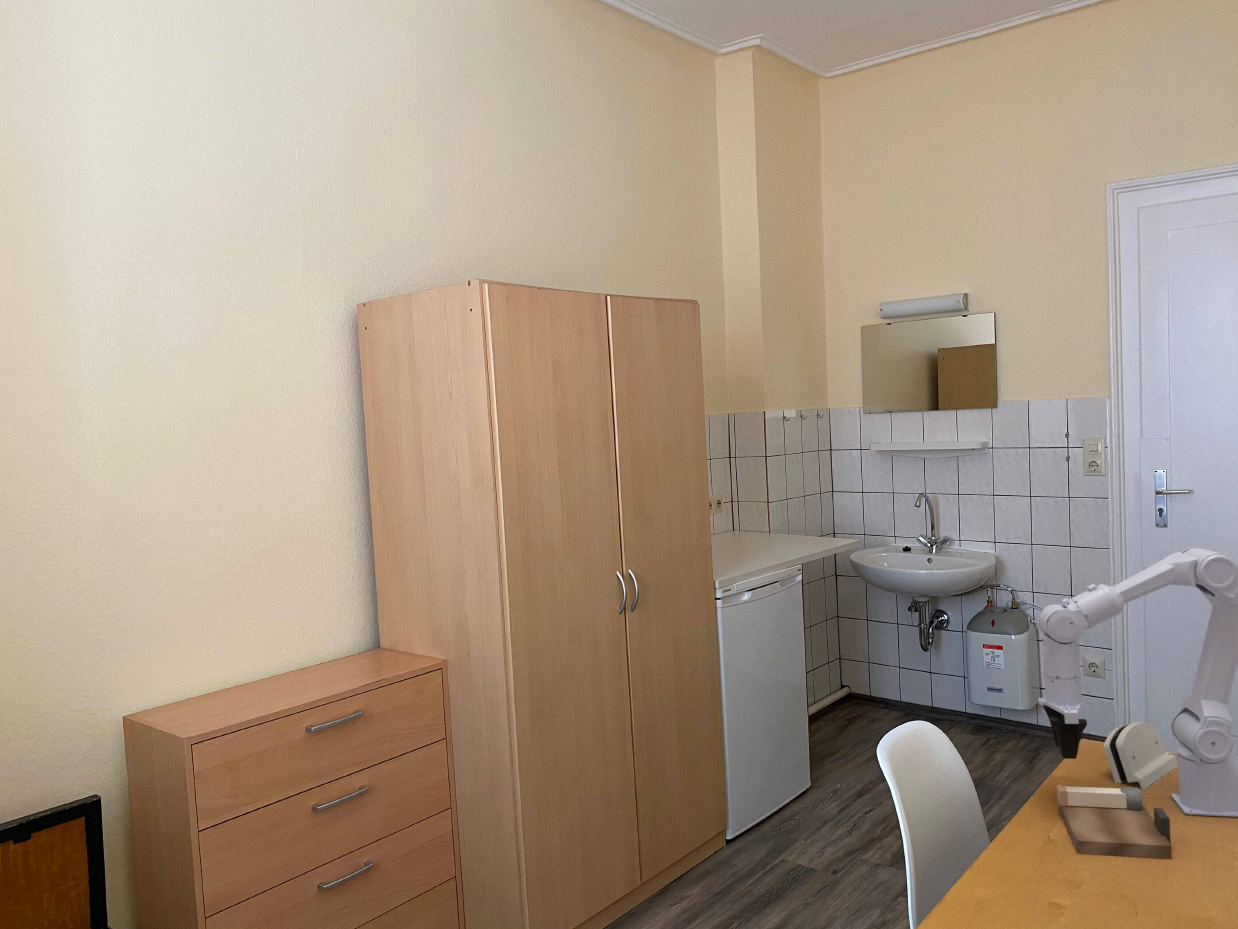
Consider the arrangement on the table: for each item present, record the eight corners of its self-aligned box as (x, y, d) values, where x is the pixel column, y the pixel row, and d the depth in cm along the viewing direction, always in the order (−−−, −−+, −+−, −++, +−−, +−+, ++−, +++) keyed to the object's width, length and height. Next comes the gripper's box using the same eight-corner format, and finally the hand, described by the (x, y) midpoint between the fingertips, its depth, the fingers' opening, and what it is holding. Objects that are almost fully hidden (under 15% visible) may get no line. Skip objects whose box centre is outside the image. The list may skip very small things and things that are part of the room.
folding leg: (1140, 803, 156) (1139, 787, 156) (1145, 810, 153) (1144, 794, 153) (1057, 799, 159) (1056, 784, 159) (1060, 806, 156) (1059, 791, 156)
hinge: (1143, 790, 166) (1121, 734, 168) (1118, 792, 170) (1096, 737, 172) (1179, 764, 177) (1158, 712, 179) (1154, 767, 180) (1134, 716, 183)
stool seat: (1147, 815, 156) (1146, 786, 156) (1177, 859, 140) (1176, 828, 140) (1058, 810, 160) (1057, 783, 159) (1077, 853, 144) (1076, 823, 144)
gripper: (1031, 664, 169) (1034, 737, 169) (1044, 686, 155) (1048, 766, 155) (1073, 664, 167) (1076, 739, 167) (1090, 686, 153) (1094, 767, 153)
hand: (1066, 752), depth 161 cm, fingers open, 5 cm apart
